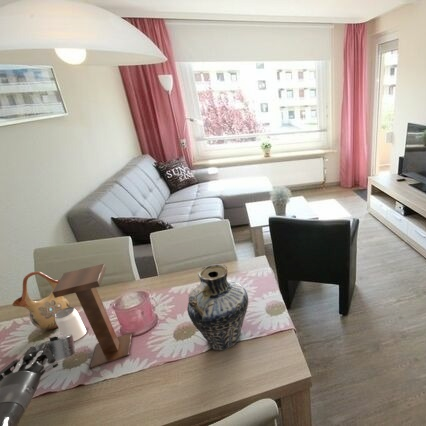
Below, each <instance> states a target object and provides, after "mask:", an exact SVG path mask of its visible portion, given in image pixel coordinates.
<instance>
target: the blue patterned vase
mask: <svg viewBox="0 0 426 426" xmlns="http://www.w3.org/2000/svg"><path fill="white" fill-rule="evenodd" d="M228 270H229V269H228V266H226V265H225V264H222V263H213V264H210V265H207V266H204V267H202V268H201V269H200V270H199V271H198V273H197V276H198V278H199V280H200V283H199V285H198V286H196V287H195V288H193V289H191V291H189V293H188V303H187V314H188V317H189V319H190V321H191V323H192V324H193V326H194V327H195V328H196V329H197V330H198V331H199V333H200V334H201V335H202V337H203V338H204V339H205V340H206V341H207V344H208V345H209V346H210V348H211V349H213V350H216V351H222V350H227V349H230V348H231V347H233V346H234V345H236V344H237V342H238V341H239V340H240V338H241V332H242V328H243V324H244V319H245V317H246V314H247V312H248V311H247V310H248V306H249V295H248V291H247V290H246V288H245V287H244V286H243V285H242V284H240V283H239V282H237V281H234V280H230V279H227V278H228Z"/></svg>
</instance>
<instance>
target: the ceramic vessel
mask: <svg viewBox="0 0 426 426" xmlns="http://www.w3.org/2000/svg"><path fill="white" fill-rule="evenodd" d="M36 275H38V276H40V277H42V278H43V279H45V280H46V281H47V283H48V284H49V285H50V287H51V289H52V290H51V293H50V294H49V295H48V296H46V297H44V298H42V299H39V300H33V299H32V298H31V297H30V294H29V292H28V291H29V290H28V280H29V278H30V277H32V276H36ZM59 280H60V279H57V280H55V279H53V278H51V277H50V276H49V275H46V273H44V272H41V271H32V272H30V273H28V274H26V275H25V276H24V278H23V280H22V292H21V296H20V297H18V298H16V299H15V300H14V301H13V302H12V306H13V307H21V308H24V309H26V310H27V311H28V312H29V319H30V322H31V324H32V325H33V326H34V327H35V328H37V329H40V330H44V331H45V330H46V331H47V330H54V329H57V328H58V326H57V324H56V322H55V314H56V313H57V312H59V311H60V310H62V309H65V308H68V307H72V305H71V303H70V301H69V300H68V299H67V298H66V297H65V296H60V297H56V298H55V297H54V295H53V293H52V292H53V290H54V289H55V287H56V285H57V284H58V282H59Z"/></svg>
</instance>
